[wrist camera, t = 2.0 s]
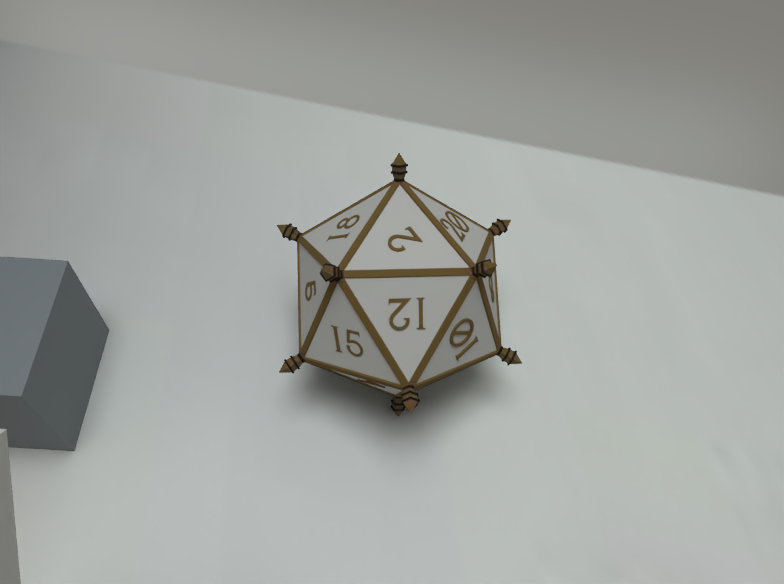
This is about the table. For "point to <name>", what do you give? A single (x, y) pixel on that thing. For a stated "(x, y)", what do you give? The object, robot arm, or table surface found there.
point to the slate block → (46, 352)
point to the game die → (397, 292)
